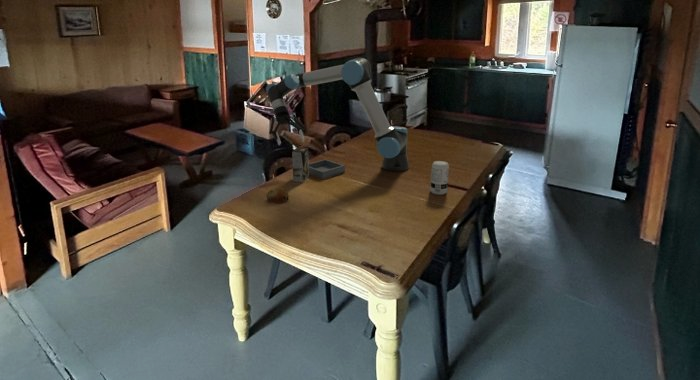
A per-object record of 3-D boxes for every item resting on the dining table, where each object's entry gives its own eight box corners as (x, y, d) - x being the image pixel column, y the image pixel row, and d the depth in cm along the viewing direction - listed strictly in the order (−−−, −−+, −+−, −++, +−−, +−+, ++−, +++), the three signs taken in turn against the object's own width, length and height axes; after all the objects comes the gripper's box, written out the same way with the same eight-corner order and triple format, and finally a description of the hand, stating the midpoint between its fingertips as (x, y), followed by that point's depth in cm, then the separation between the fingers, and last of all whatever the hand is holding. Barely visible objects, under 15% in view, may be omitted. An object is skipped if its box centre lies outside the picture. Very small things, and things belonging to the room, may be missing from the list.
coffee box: (304, 182, 256) (303, 152, 250) (292, 181, 257) (291, 151, 252) (309, 176, 265) (308, 147, 259) (297, 175, 266) (296, 146, 260)
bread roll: (280, 202, 241) (274, 187, 240) (295, 198, 234) (289, 182, 234) (266, 209, 233) (260, 193, 232) (281, 204, 227) (274, 188, 226)
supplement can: (428, 189, 248) (430, 160, 242) (444, 188, 248) (446, 160, 243) (432, 195, 240) (434, 165, 235) (448, 194, 241) (451, 165, 236)
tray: (344, 172, 271) (344, 165, 270) (322, 179, 261) (322, 172, 259) (325, 165, 282) (325, 159, 281) (303, 172, 272) (303, 165, 270)
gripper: (299, 110, 279) (311, 143, 272) (256, 115, 268) (268, 149, 261) (303, 103, 273) (315, 136, 266) (259, 107, 262) (271, 141, 255)
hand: (292, 142), depth 264 cm, fingers open, 13 cm apart
